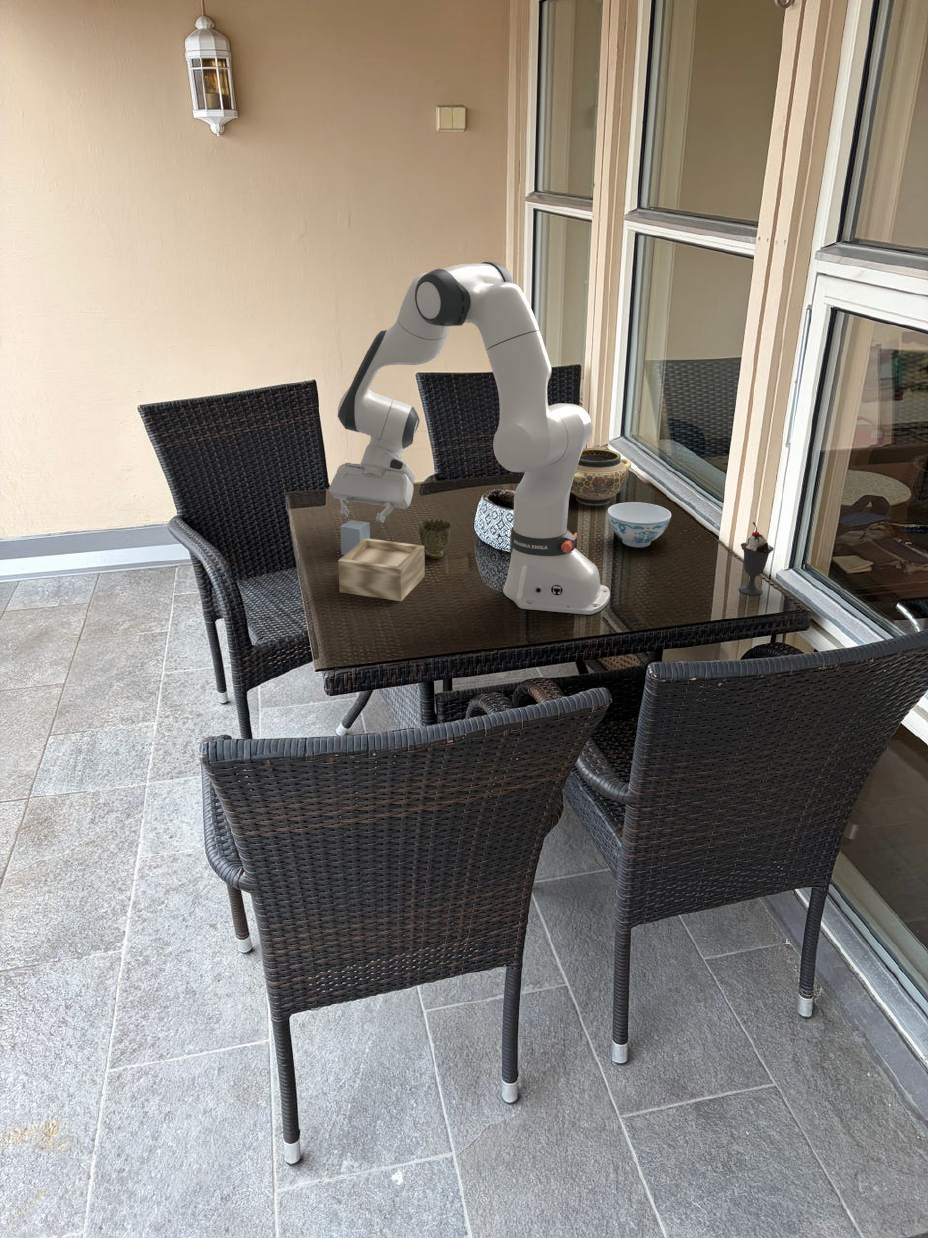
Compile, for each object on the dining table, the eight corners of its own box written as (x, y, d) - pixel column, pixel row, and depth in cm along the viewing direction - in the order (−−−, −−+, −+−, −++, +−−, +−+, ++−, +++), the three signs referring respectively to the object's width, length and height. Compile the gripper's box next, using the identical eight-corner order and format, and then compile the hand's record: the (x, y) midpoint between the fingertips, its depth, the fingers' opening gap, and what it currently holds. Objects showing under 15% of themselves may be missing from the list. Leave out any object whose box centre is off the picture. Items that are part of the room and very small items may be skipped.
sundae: (738, 582, 204) (747, 517, 198) (769, 588, 201) (780, 522, 195) (730, 593, 199) (740, 526, 192) (762, 599, 196) (773, 532, 190)
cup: (447, 563, 212) (447, 530, 209) (415, 561, 213) (415, 528, 210) (454, 552, 219) (454, 519, 215) (423, 549, 220) (423, 517, 217)
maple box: (424, 577, 206) (424, 545, 202) (401, 602, 194) (400, 569, 190) (366, 569, 210) (365, 538, 206) (339, 593, 198) (338, 560, 194)
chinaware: (602, 550, 221) (604, 519, 217) (608, 529, 234) (610, 499, 231) (666, 556, 218) (669, 525, 214) (669, 534, 231) (672, 505, 227)
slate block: (370, 550, 219) (369, 522, 216) (360, 558, 215) (359, 529, 212) (351, 547, 221) (350, 519, 218) (341, 554, 217) (340, 526, 214)
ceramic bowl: (611, 496, 266) (607, 443, 263) (654, 497, 251) (649, 441, 248) (542, 510, 255) (536, 455, 251) (582, 513, 240) (576, 454, 236)
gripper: (335, 455, 222) (317, 506, 218) (413, 465, 215) (395, 518, 211) (345, 468, 228) (327, 518, 224) (421, 478, 221) (404, 530, 217)
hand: (361, 518), depth 217 cm, fingers open, 8 cm apart
